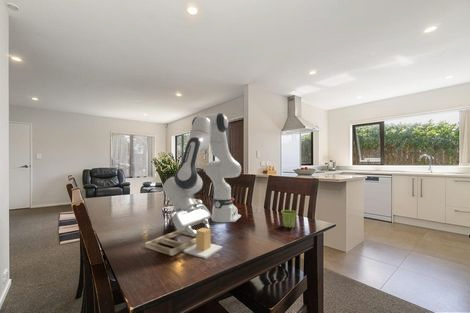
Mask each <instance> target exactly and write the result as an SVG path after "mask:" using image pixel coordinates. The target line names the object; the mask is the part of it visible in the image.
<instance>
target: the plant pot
mask: <svg viewBox="0 0 470 313" xmlns="http://www.w3.org/2000/svg"><path fill="white" fill-rule="evenodd" d="M280 212H281V215H282V221H283V226H284V227H286V228H288V227H289V228H290V229H291V227H292V228H295V224H296V217H297V214H298V212H297V211H296V210H290V209H284V210H281V211H280Z"/></svg>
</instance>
